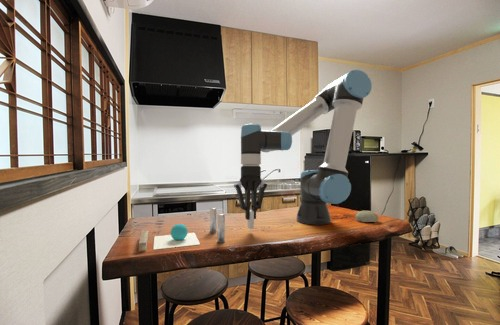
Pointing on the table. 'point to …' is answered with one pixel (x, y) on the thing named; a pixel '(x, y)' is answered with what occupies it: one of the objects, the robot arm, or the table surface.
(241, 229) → the table surface
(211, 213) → the post
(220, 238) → the post
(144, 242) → the wall
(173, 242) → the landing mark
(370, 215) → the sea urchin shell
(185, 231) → the ball
